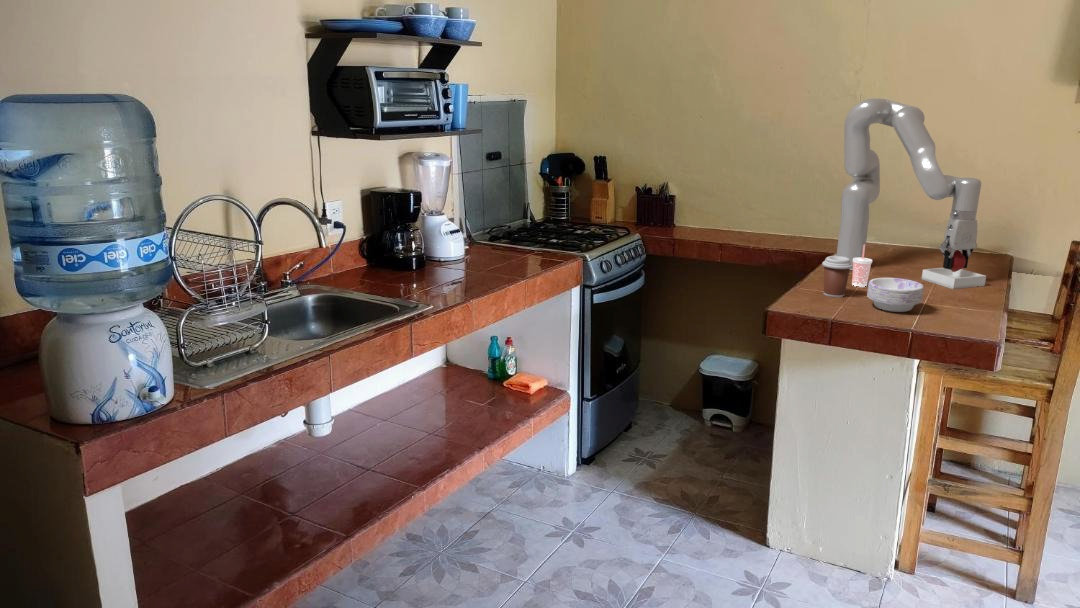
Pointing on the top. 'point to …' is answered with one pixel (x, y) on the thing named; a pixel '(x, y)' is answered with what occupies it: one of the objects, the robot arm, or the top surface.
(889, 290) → the paper bowls
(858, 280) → the beverage cup
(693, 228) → the top surface
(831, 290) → the coffee cup
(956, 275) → the box
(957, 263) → the onion
